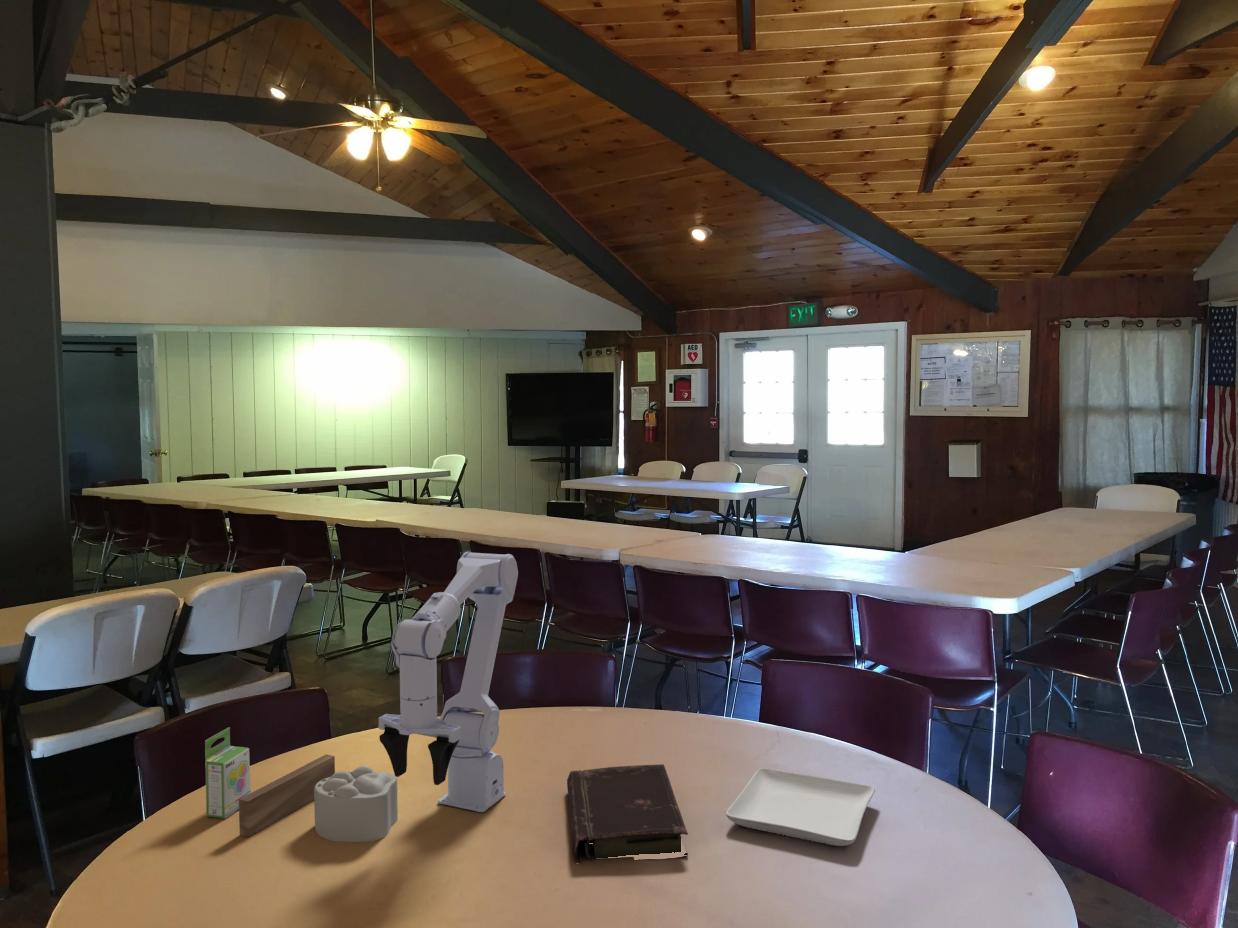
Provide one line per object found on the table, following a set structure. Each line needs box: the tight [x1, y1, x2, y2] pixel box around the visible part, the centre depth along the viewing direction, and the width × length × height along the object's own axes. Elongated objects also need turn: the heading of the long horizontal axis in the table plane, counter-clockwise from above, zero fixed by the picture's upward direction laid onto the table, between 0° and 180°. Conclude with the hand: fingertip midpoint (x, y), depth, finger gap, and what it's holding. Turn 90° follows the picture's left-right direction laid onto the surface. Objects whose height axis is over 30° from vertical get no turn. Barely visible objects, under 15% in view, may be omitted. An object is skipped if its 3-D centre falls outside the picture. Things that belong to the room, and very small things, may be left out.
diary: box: [566, 763, 689, 864], centre depth 144 cm, size 19×25×5 cm
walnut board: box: [238, 754, 336, 838], centre depth 148 cm, size 2×20×6 cm, turn 156°
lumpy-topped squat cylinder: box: [313, 765, 399, 843], centre depth 143 cm, size 10×13×9 cm
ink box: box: [204, 726, 252, 820], centre depth 149 cm, size 7×4×13 cm, turn 168°
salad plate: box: [725, 767, 876, 847], centre depth 146 cm, size 21×21×3 cm
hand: (419, 778), depth 137 cm, fingers open, 7 cm apart
